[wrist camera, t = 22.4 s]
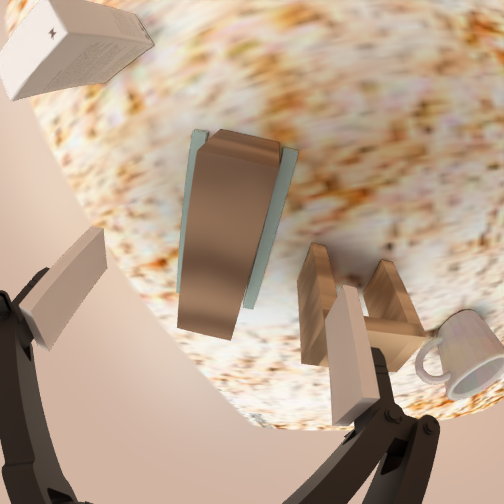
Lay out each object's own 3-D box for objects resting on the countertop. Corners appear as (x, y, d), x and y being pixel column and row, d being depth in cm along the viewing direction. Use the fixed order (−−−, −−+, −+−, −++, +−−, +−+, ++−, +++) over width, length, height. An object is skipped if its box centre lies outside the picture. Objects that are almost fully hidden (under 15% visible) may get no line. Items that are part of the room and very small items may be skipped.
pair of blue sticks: (195, 129, 23) (192, 130, 22) (297, 150, 23) (298, 152, 23) (178, 287, 33) (176, 292, 32) (253, 304, 33) (253, 309, 33)
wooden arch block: (311, 242, 28) (324, 323, 19) (392, 262, 29) (426, 337, 20) (297, 281, 31) (301, 363, 22) (373, 296, 32) (396, 372, 23)
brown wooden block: (221, 128, 23) (197, 150, 16) (278, 141, 23) (279, 168, 17) (196, 274, 32) (177, 327, 25) (240, 284, 32) (230, 340, 26)
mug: (468, 344, 36) (487, 392, 28) (393, 356, 38) (407, 413, 29) (494, 298, 31) (523, 348, 22) (414, 306, 32) (440, 370, 24)
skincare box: (135, 13, 17) (47, -11, 7) (156, 45, 19) (69, 32, 9) (86, 53, 19) (-9, 61, 9) (104, 84, 21) (10, 105, 11)
